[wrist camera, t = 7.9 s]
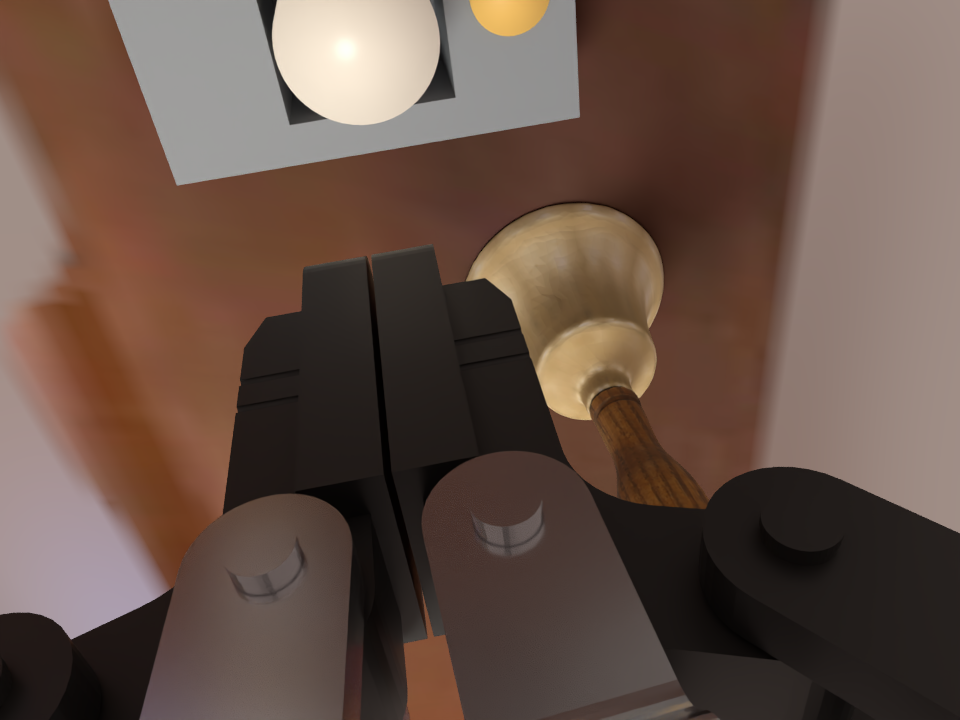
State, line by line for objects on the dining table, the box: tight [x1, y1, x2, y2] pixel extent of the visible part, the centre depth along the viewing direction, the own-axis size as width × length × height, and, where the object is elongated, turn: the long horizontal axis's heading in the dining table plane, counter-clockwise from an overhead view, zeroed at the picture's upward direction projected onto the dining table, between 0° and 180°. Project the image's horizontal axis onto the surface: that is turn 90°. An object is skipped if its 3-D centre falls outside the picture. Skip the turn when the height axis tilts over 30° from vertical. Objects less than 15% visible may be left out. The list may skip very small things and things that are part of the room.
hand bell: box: [466, 203, 709, 509], centre depth 27 cm, size 8×8×16 cm
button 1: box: [272, 0, 440, 125], centre depth 21 cm, size 4×4×4 cm
